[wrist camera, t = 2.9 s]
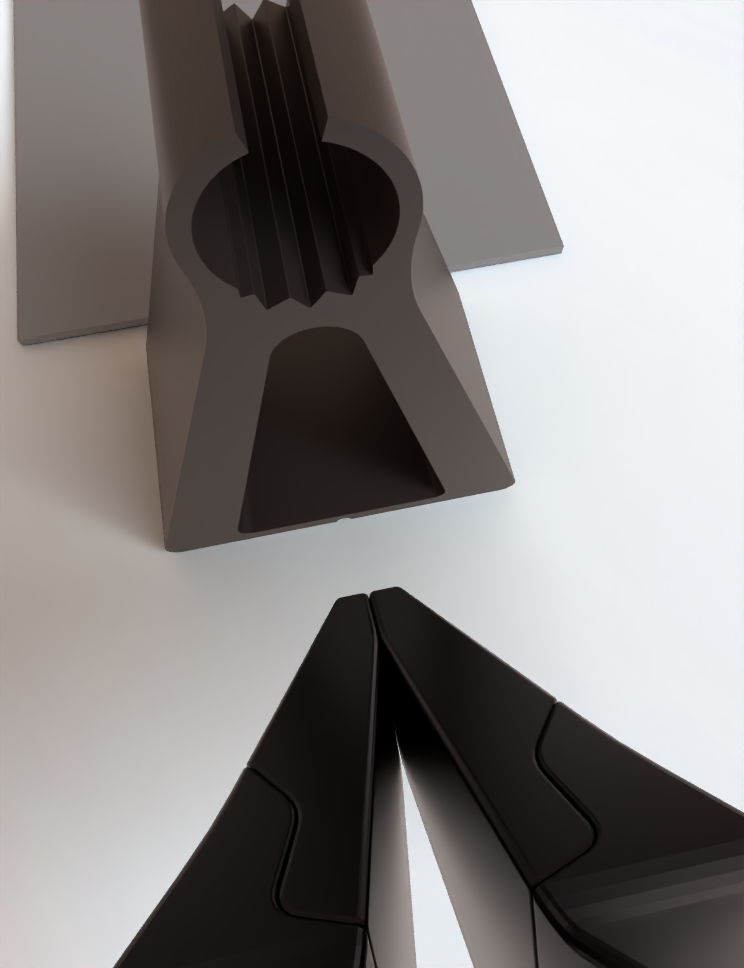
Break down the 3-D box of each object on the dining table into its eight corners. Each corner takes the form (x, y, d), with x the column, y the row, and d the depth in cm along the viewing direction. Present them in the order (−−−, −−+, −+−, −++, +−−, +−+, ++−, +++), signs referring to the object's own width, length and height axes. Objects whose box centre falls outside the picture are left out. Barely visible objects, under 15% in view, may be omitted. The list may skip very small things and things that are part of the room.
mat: (561, 253, 21) (564, 246, 21) (22, 345, 20) (17, 339, 20) (426, -107, 27) (427, -116, 27) (17, -51, 27) (13, -59, 26)
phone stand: (168, 554, 18) (-197, 200, 6) (150, 354, 20) (-145, -166, 9) (512, 489, 18) (720, 59, 7) (458, 302, 20) (551, -254, 9)
